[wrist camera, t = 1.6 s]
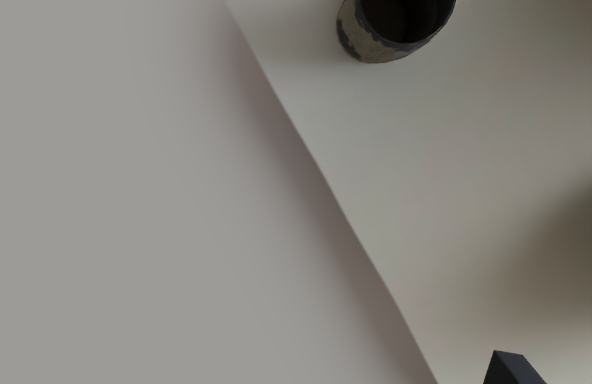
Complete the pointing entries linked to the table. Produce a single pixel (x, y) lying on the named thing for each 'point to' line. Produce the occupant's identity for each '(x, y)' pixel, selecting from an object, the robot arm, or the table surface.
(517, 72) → the table surface
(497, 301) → the table surface
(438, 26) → the mug
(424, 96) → the table surface
